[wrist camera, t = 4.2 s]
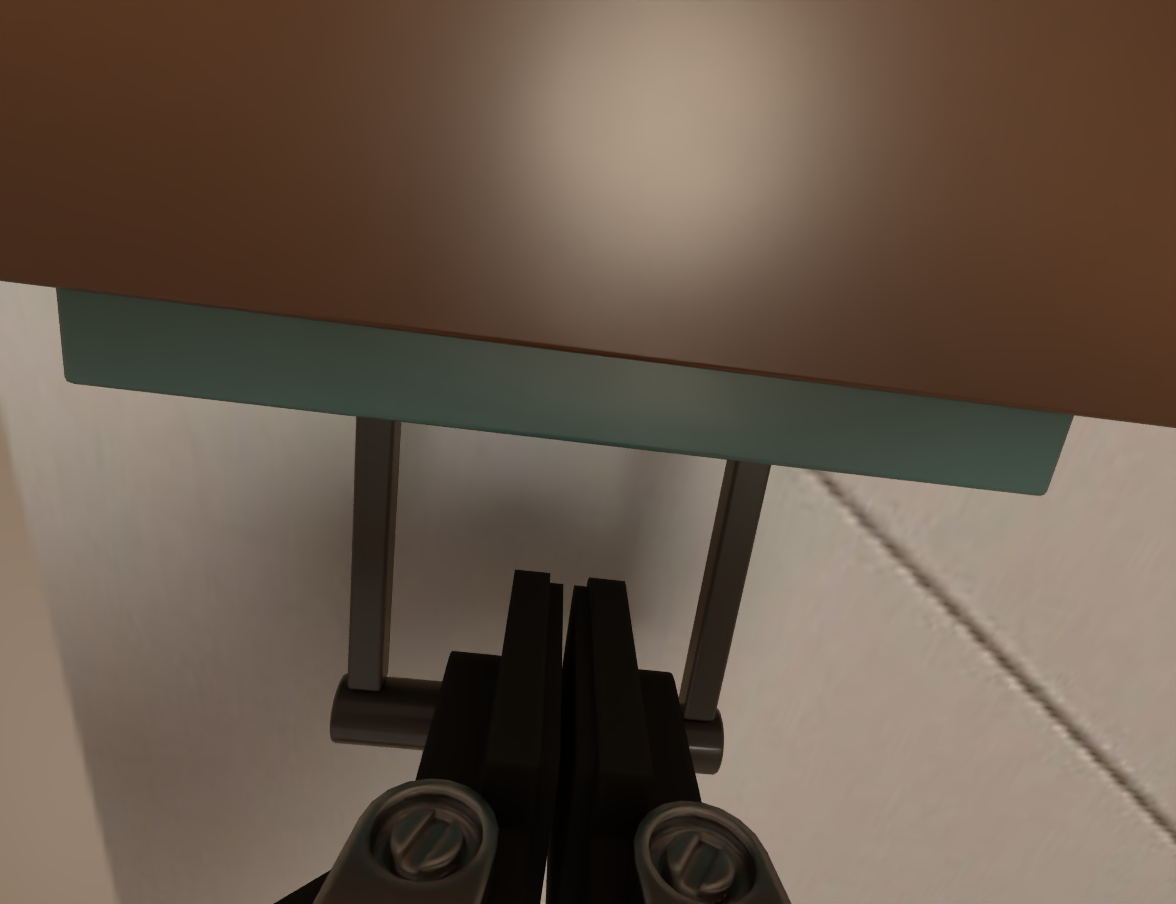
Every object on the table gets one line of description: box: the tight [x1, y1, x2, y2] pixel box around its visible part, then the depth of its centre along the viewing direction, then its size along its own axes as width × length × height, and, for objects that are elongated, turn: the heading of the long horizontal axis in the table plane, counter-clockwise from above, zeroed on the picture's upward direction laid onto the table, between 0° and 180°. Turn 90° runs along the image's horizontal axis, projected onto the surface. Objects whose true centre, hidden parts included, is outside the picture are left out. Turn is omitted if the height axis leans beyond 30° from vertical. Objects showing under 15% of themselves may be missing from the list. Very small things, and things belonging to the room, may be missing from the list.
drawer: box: [56, 288, 1074, 775], centre depth 11 cm, size 21×11×7 cm, turn 172°
